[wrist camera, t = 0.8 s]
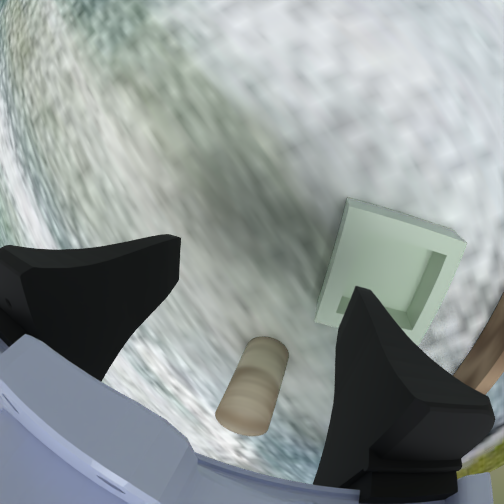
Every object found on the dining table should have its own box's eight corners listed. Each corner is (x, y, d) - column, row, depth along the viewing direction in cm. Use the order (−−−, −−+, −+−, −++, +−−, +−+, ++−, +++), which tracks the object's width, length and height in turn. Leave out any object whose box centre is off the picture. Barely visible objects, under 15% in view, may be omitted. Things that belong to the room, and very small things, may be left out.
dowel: (283, 372, 25) (262, 441, 18) (243, 361, 26) (213, 425, 19) (293, 343, 24) (273, 416, 17) (249, 331, 25) (217, 399, 17)
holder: (411, 322, 20) (418, 345, 18) (317, 299, 22) (314, 322, 19) (451, 228, 17) (467, 243, 14) (346, 196, 18) (349, 206, 16)
